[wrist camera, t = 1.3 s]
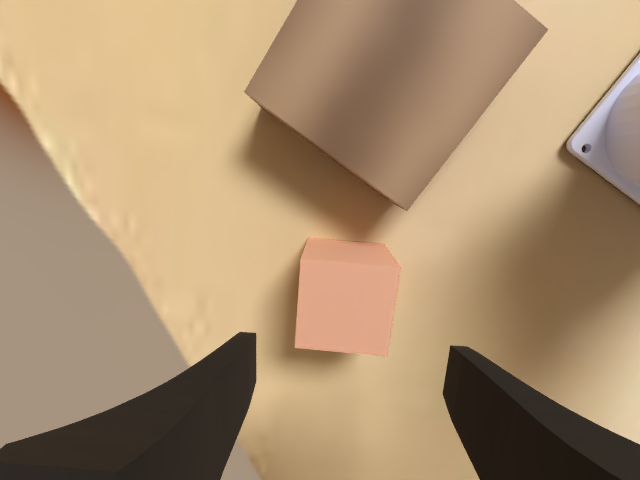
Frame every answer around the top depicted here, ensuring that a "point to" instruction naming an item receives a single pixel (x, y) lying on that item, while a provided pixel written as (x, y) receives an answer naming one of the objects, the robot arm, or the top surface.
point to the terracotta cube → (346, 297)
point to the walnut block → (391, 80)
